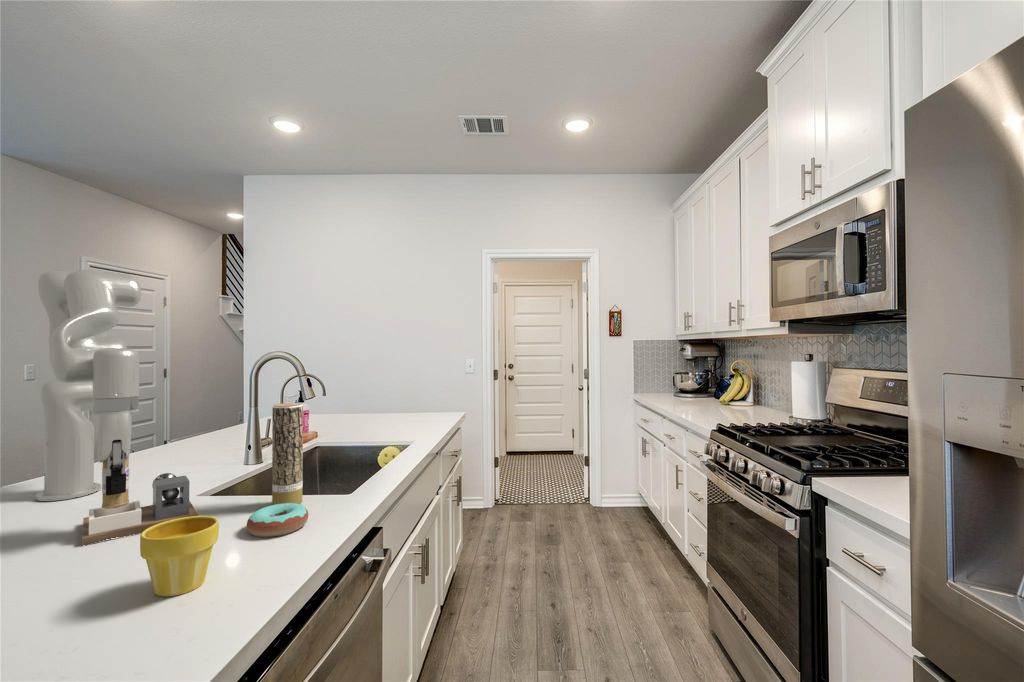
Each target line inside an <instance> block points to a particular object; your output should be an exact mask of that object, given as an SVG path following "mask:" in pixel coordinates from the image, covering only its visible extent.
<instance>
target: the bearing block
mask: <svg viewBox="0 0 1024 682" xmlns="http://www.w3.org/2000/svg"><path fill="white" fill-rule="evenodd" d="M152 484H153V487H152V505H153V516H154V518H155V521H158V520H163V519H168V518H172V517H177V516H182V515H187V514H189V501H190V480H189V478H188V477H187V475H181V476H180V475H179V476H176V477H172V478H166V479H160V480H155V479H154V480H153V481H152ZM173 488H179V496H178V497H177V498H176V499H174V500H171V501H167V500H165V499H163V496H162V490H167V489H173Z"/></svg>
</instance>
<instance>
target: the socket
mask: <svg viewBox="0 0 1024 682" xmlns="http://www.w3.org/2000/svg"><path fill="white" fill-rule="evenodd" d="M141 507H142V506H141V504H140V501H139V500H135V501H129V503H128V504H127V505H124V506H121V507H118V508H111V509H104V508H102V506H101V507H96V508H91V509H88V517H89V535H92V534H96V533H101V532H106V531H111V530H116V529H120V528H125V527H130V526H135V525H139V524H141Z"/></svg>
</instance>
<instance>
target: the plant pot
mask: <svg viewBox="0 0 1024 682" xmlns="http://www.w3.org/2000/svg"><path fill="white" fill-rule="evenodd" d="M219 530H220V522H219V519H218V518H217V517H215V516H209V515H198V516H191V517H184V518H178V519H174V520H170V521H166V522H162V523H159V524H157V525H154V526H152V527H150V528H148V529H146V530H144V531H143V532H142V533H140V534H139V535H140V536H139V551H140V557H141V558H142V559H144V560H145V561H146V566H147V568H148V574H149V578H150V581H151V584H152V589H153V592H154V594H155V595H156V596H159V597H164V598H166V597H175V596H180V595H183V594H187V593H190V592H192V591H194V590H196V589H197V588H199V587H201V586H202V585H203V584H204V583H205V580H206V576H207V572H208V568H209V563H210V560H211V556H212V552H213V548H214V545H215V544H216V543H217V542H218V540H219V532H220V531H219Z"/></svg>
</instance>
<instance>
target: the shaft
mask: <svg viewBox="0 0 1024 682" xmlns="http://www.w3.org/2000/svg"><path fill="white" fill-rule="evenodd" d="M172 477H177V476H176V475H175V474H174V473H170V472H164V473H161V474H160V475H158V476H156V478H154V480H160V479H166V478H172ZM152 488H153V483H152ZM179 496H180V489H178V488H173V489H167V490H162V499H163V500H167V501H171V500H174V499H176V498H178V497H179Z"/></svg>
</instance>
